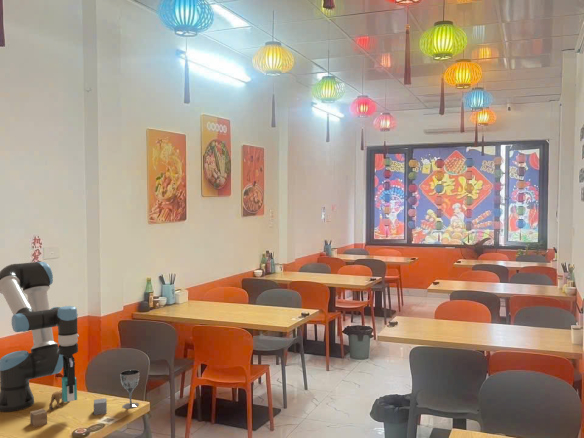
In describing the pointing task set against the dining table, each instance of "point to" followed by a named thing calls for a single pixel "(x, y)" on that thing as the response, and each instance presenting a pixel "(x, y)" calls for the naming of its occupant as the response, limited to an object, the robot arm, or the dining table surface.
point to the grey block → (100, 406)
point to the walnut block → (38, 417)
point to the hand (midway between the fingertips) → (69, 398)
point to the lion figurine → (57, 397)
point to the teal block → (64, 389)
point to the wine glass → (130, 385)
